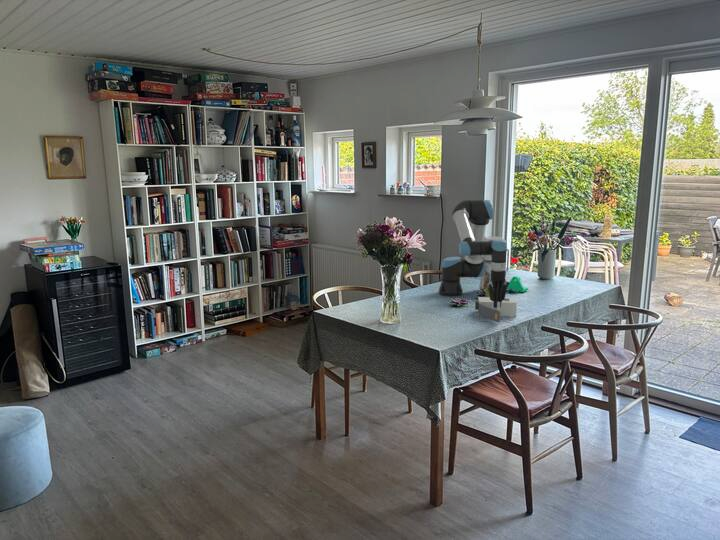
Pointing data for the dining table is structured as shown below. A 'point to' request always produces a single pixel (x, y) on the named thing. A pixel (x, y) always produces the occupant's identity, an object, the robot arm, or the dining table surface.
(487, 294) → the plant pot
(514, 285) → the camera mount
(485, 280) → the display case
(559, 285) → the dining table surface
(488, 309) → the side door
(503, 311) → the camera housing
